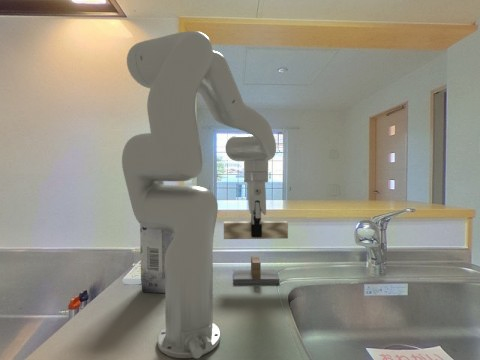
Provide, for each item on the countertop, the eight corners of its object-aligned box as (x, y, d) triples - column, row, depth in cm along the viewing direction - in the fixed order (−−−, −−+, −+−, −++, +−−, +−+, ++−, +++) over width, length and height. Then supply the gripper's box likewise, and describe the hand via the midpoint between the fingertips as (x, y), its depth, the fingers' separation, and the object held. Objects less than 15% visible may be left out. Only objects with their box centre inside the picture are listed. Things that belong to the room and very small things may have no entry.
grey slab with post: (279, 283, 90) (279, 262, 90) (233, 284, 90) (233, 262, 89) (275, 274, 98) (275, 254, 98) (233, 274, 98) (233, 255, 97)
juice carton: (179, 280, 92) (179, 194, 91) (168, 295, 82) (167, 197, 81) (152, 279, 93) (151, 194, 92) (137, 293, 83) (136, 197, 82)
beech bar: (286, 236, 95) (286, 220, 95) (287, 238, 92) (287, 222, 92) (224, 236, 95) (223, 221, 95) (223, 239, 92) (223, 223, 92)
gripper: (271, 178, 85) (271, 242, 86) (265, 176, 101) (265, 229, 102) (245, 178, 84) (245, 242, 85) (243, 176, 101) (243, 229, 102)
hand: (256, 235), depth 94 cm, fingers closed on beech bar, 3 cm apart
